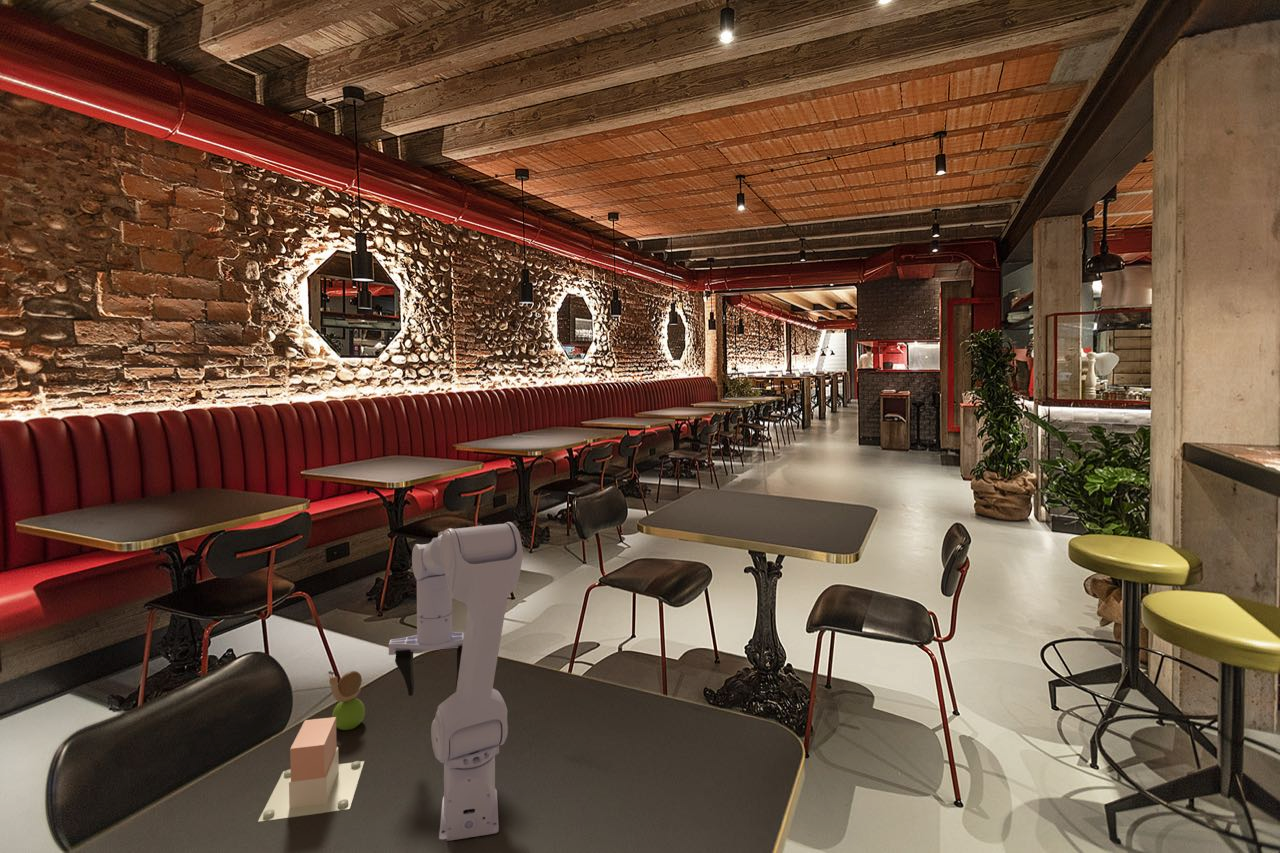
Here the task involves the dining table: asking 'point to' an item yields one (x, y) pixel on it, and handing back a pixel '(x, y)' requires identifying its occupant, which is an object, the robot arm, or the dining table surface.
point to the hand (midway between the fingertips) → (435, 690)
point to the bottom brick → (314, 787)
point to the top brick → (313, 749)
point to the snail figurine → (347, 700)
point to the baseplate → (336, 802)
